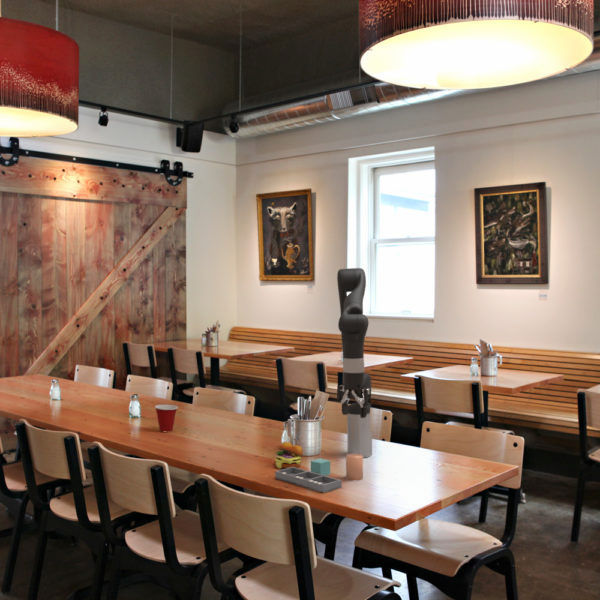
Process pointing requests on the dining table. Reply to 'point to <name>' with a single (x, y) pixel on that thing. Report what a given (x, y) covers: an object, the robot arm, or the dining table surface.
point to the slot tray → (308, 479)
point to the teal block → (320, 466)
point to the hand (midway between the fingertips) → (354, 416)
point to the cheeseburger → (288, 455)
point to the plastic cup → (166, 416)
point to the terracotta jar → (354, 467)
